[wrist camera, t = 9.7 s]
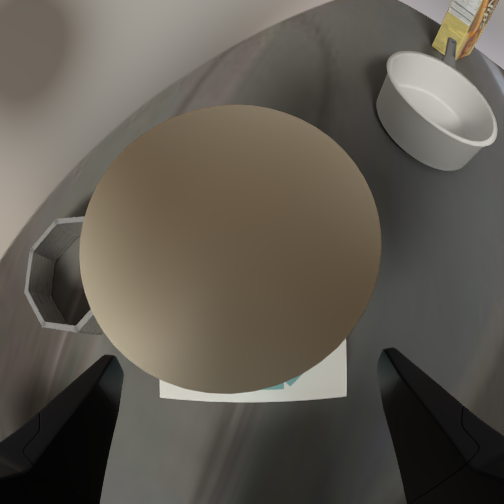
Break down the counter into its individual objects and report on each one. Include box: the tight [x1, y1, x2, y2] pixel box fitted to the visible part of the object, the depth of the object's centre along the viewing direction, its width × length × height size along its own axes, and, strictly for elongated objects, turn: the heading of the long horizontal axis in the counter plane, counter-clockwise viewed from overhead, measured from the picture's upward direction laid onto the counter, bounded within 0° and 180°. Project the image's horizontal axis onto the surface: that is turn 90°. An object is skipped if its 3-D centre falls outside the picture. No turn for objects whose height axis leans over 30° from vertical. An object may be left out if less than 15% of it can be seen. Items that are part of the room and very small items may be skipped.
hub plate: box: [160, 339, 347, 402], centre depth 17 cm, size 11×11×4 cm
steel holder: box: [24, 216, 103, 335], centre depth 18 cm, size 8×8×3 cm
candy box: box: [432, 0, 499, 60], centre depth 21 cm, size 9×4×15 cm, turn 128°
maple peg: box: [79, 105, 381, 394], centre depth 11 cm, size 5×5×13 cm
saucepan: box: [376, 37, 497, 171], centre depth 21 cm, size 12×20×6 cm, turn 149°
